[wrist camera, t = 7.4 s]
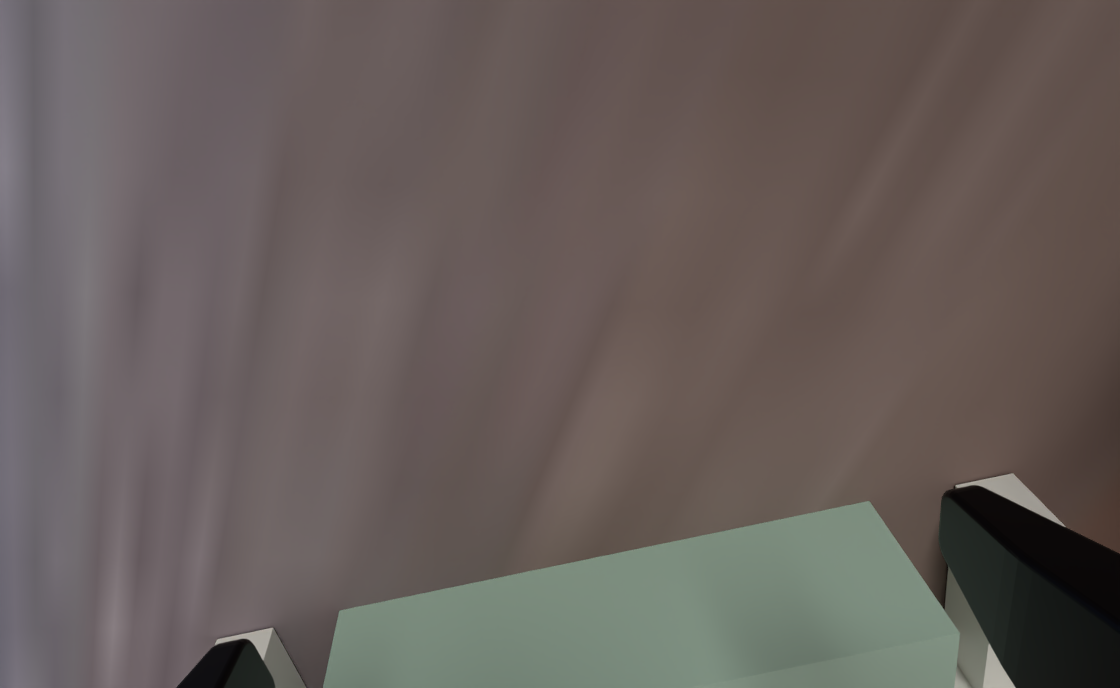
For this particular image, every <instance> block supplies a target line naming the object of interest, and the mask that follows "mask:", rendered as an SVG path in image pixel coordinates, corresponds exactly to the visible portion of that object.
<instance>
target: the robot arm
mask: <svg viewBox="0 0 1120 688" xmlns="http://www.w3.org/2000/svg"><path fill="white" fill-rule="evenodd" d="M939 545H940V549H941V552H942V554H943V557H944V559H945V561H946V562H947V564H948V566H949V568H950V570H951V572H952V574H953V576H954V578H955V579H956V581H957V583H958V585H959V587H960V589H961V591H962V593H963V595H964V597H965V598H966V600H967V602H968V604H969V606H970V608H971V610H972V612H973V614H974V615H975V617H976V619H977V621H978V623H979V625H980V627H981V629H982V631H983V633H984V634H985V636H986V638H987V640H988V642H989V644H990V646H991V648H992V649H993V651H994V653H995V655H996V657H997V658H998V660H999V662H1000V664H1001V666H1002V667H1003V669H1004V670H1005V672H1006V673H1007V675H1008V677H1009V678H1010V680H1011V681H1012V683H1013V685H1014V686H1015V688H1120V554H1119V553H1117V552H1115V551H1113V550H1111V549H1109V548H1107V547H1105V546H1103V545H1101V544H1099V543H1097V542H1095V541H1093V540H1091V539H1088V538H1086V537H1084V536H1082V535H1080V534H1078V533H1076V532H1074V531H1072V530H1070V529H1068V528H1066V527H1064V526H1062V525H1060V524H1058V523H1056V522H1054V521H1052V520H1050V519H1048V518H1046V517H1044V516H1041V515H1039V514H1037V513H1035V512H1033V511H1031V510H1029V509H1027V508H1025V507H1023V506H1021V505H1019V504H1017V503H1015V502H1013V501H1011V500H1009V499H1007V498H1005V497H1003V496H1001V495H999V494H997V493H994V492H992V491H990V490H988V489H986V488H984V487H982V486H978V485H970V486H965V487H961V488H956V489H951V490H948V491H946V492H945V493H944V494H943V496H942V500H941V511H940V525H939ZM176 688H275V683H274V679H273V677H272V675H271V673H270V671H269V670H268V668H267V666H266V665H265V663H264V661H263V659H262V658H261V656H260V654H259V652H258V651H257V649H256V647H255V645H254V644H253V643H252V642H251V641H250V640H248V639H238V640H233V641H228V642H224V643H219V644H217V645H215V646H214V647H212V648H211V649H210V650H209V651H208V652H207V654H206V655H205V656H204V657H203V658H202V659H201V660H200V661H199V663H198V664H197V665H196V666H195V667H194V668H193V669H192V671H191V672H190V673H189V674H188V675H187V676H186V677H185V678H184V680H183V681H182V682H181V683H180V684H179V685H178V686H177V687H176Z"/></svg>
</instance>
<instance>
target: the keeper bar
mask: <svg viewBox="0 0 1120 688" xmlns="http://www.w3.org/2000/svg"><path fill="white" fill-rule="evenodd" d="M959 639H960V632H959V631H958V629H957V628H956V627H955V625H954V624H953V622H952V621H951V619H950V618H949V616H948V615H947V613H946V612H945V611H944V609H943V608H942V606H941V605H940V603H939V602H938V600H937V599H936V597H935V596H934V595H933V593H932V592H931V590H930V589H929V587H928V586H927V584H926V583H925V581H924V580H923V579H922V577H921V576H920V574H919V573H918V571H917V570H916V568H915V567H914V565H913V564H912V563H911V561H910V560H909V558H908V557H907V555H906V554H905V552H904V551H903V549H902V548H901V547H900V545H899V544H898V542H897V541H896V539H895V538H894V536H893V535H892V533H891V532H890V531H889V529H888V528H887V526H886V525H885V523H884V522H883V520H882V519H881V517H880V516H879V515H878V513H877V512H876V510H875V509H874V507H873V506H872V504H871V503H870V501H867V502H862V503H857V504H853V505H848V506H843V507H838V508H833V509H828V510H824V511H819V512H814V513H809V514H804V515H799V516H795V517H790V518H785V519H780V520H775V521H770V522H766V523H761V524H756V525H751V526H746V527H742V528H737V529H732V530H727V531H722V532H717V533H713V534H708V535H703V536H698V537H693V538H688V539H684V540H679V541H674V542H669V543H664V544H659V545H655V546H650V547H645V548H640V549H635V550H630V551H626V552H621V553H616V554H611V555H606V556H601V557H597V558H592V559H587V560H582V561H577V562H572V563H568V564H563V565H558V566H553V567H548V568H543V569H539V570H534V571H529V572H524V573H519V574H514V575H510V576H505V577H500V578H495V579H490V580H485V581H481V582H476V583H471V584H466V585H461V586H456V587H452V588H447V589H442V590H437V591H432V592H427V593H423V594H418V595H413V596H408V597H403V598H398V599H394V600H389V601H384V602H379V603H374V604H369V605H365V606H360V607H355V608H350V609H345V610H340V611H339V615H338V619H337V624H336V629H335V633H334V638H333V643H332V647H331V652H330V657H329V661H328V666H327V671H326V676H325V680H324V685H323V688H954V686H955V677H956V667H957V658H958V648H959Z"/></svg>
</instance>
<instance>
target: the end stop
mask: <svg viewBox="0 0 1120 688" xmlns="http://www.w3.org/2000/svg"><path fill="white" fill-rule="evenodd" d="M970 485H978V486H982V487H984V488H986V489H988V490H990V491H992V492H994V493H997V494H999V495H1001V496H1003V497H1005V498H1007V499H1009V500H1011V501H1013V502H1015V503H1017V504H1019V505H1021V506H1023V507H1025V508H1027V509H1029V510H1031V511H1033V512H1035V513H1037V514H1039V515H1041V516H1044V517H1046V518H1048V519H1050V520H1052V521H1054V522H1056V523H1058V524H1060V525H1062V526H1064V525H1063V523H1062V522H1061V521H1060V520H1059V519H1058V518H1057V517H1056V516H1055V515H1054V514H1053V513H1052V512H1051V511H1050V510H1049V509H1048V508H1047V507H1046V506H1045V505H1044V504H1043V503H1042V502H1041V501H1040V500H1039V499H1038V498H1037V497H1036V496H1035V495H1034V494H1033V493H1032V492H1031V491H1030V490H1029V489H1028V488H1027V487H1026V486H1025V485H1024V484H1023V483H1022V482H1021V481H1020V480H1019V479H1018V478H1017V477H1016V476H1015V475H1014V474H1013V473H1012V474H1007V475H1002V476H998V477H993V478H988V479H983V480H978V481H974V482H969V483H964V484H959V485H955V489H956V488H961V487H965V486H970ZM1064 527H1065V526H1064ZM944 611H945V612H946V613H947V615H948V616H949V618H950V619H951V621H952V622H953V624H954V625H955V627H956V628H957V629H958V631H959V632H960V639H959V648H958V658H957V667H956V677H955V686H954V688H1015V686H1014V685H1013V683H1012V681H1011V680H1010V678H1009V677H1008V675H1007V673H1006V672H1005V670H1004V669H1003V667H1002V666H1001V664H1000V662H999V660H998V658H997V657H996V655H995V653H994V651H993V649H992V648H991V646H990V644H989V642H988V640H987V638H986V636H985V634H984V633H983V631H982V629H981V627H980V625H979V623H978V621H977V619H976V617H975V615H974V614H973V612H972V610H971V608H970V606H969V604H968V602H967V600H966V598H965V597H964V595H963V593H962V591H961V589H960V587H959V585H958V583H957V581H956V579H955V578H954V576H953V574H952V572H951V570H950V568H949V566H948V575H947V587H946V598H945V610H944ZM238 639H248V640H250V641H251V642H252V643H253V644H254V645H255V647H256V649H257V651H258V652H259V654H260V656H261V658H262V659H263V661H264V663H265V665H266V666H267V668H268V670H269V671H270V673H271V675H272V677H273V679H274V683H275V688H306V686H305V684H304V682H303V681H302V679H301V677H300V675H299V673H298V672H297V670H296V668H295V666H294V664H293V662H292V661H291V659H290V657H289V655H288V653H287V652H286V650H285V648H284V646H283V644H282V643H281V641H280V639H279V637H278V635H277V633H276V632H275V630H274V628H269V629H264V630H259V631H255V632H250V633H245V634H240V635H235V636H231V637H226V638H221V639H217V641H216V644H215V645H217V644H219V643H224V642H228V641H233V640H238Z"/></svg>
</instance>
